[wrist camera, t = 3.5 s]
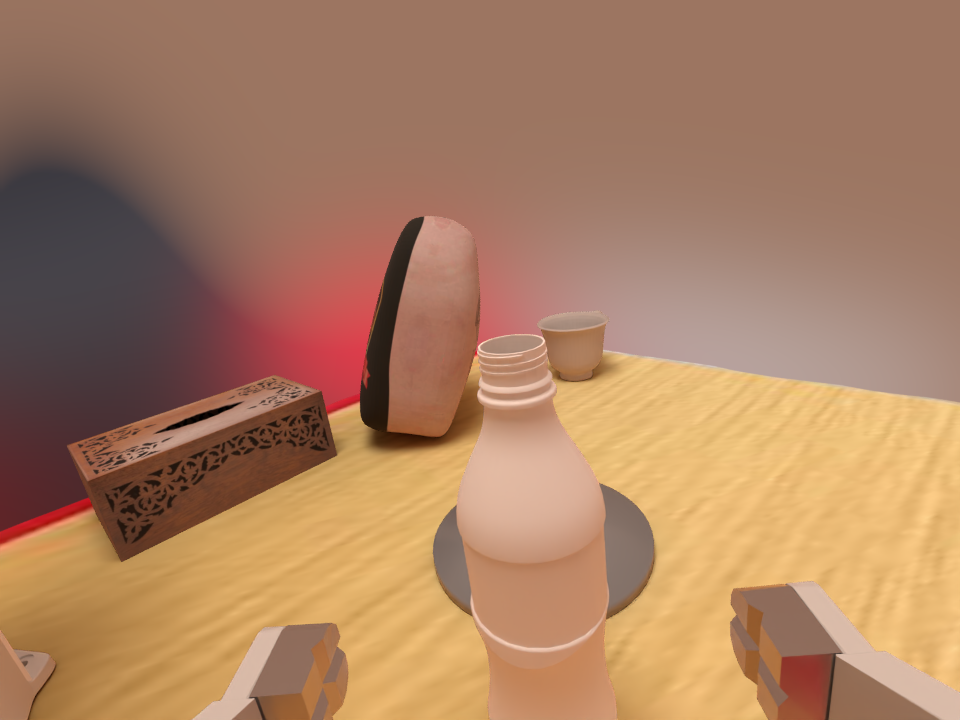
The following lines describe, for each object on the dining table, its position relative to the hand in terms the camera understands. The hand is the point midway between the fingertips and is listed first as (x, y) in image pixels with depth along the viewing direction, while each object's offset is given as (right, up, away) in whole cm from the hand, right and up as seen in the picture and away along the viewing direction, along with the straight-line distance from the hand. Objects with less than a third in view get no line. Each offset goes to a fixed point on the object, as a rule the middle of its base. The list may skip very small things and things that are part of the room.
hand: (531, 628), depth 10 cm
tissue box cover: (-35, -11, +55) cm, 66 cm away
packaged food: (-8, -4, +66) cm, 66 cm away
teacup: (+17, +3, +77) cm, 79 cm away
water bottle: (+3, -18, +19) cm, 26 cm away
